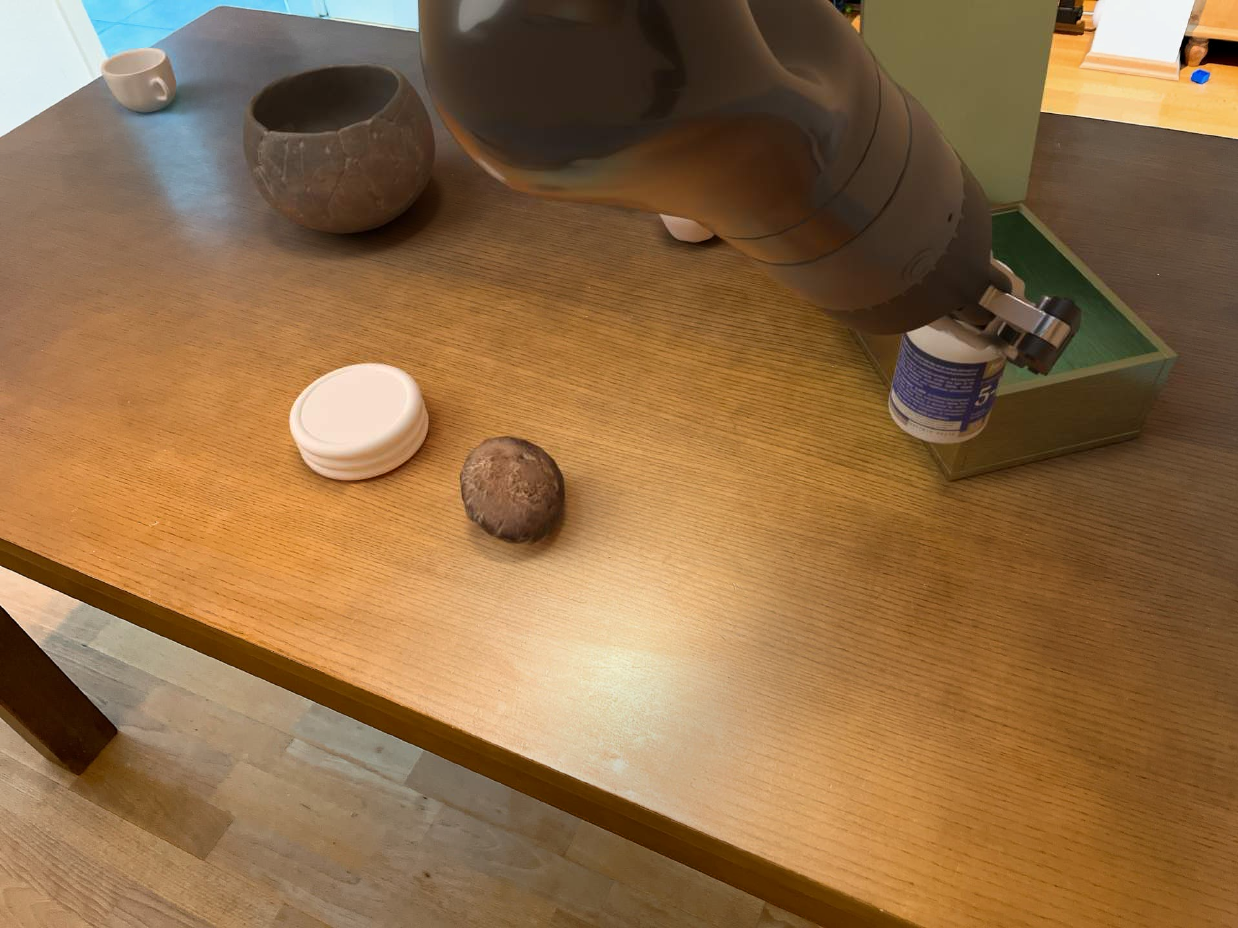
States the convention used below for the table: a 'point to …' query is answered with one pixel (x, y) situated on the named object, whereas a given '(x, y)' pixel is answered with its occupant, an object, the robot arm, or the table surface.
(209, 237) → the table surface
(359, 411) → the white round flat piece
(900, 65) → the box lid
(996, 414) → the open box
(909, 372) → the pill bottle
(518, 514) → the mushroom
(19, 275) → the table surface
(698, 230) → the plain white apple
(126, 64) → the teacup
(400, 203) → the bowl
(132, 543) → the table surface
